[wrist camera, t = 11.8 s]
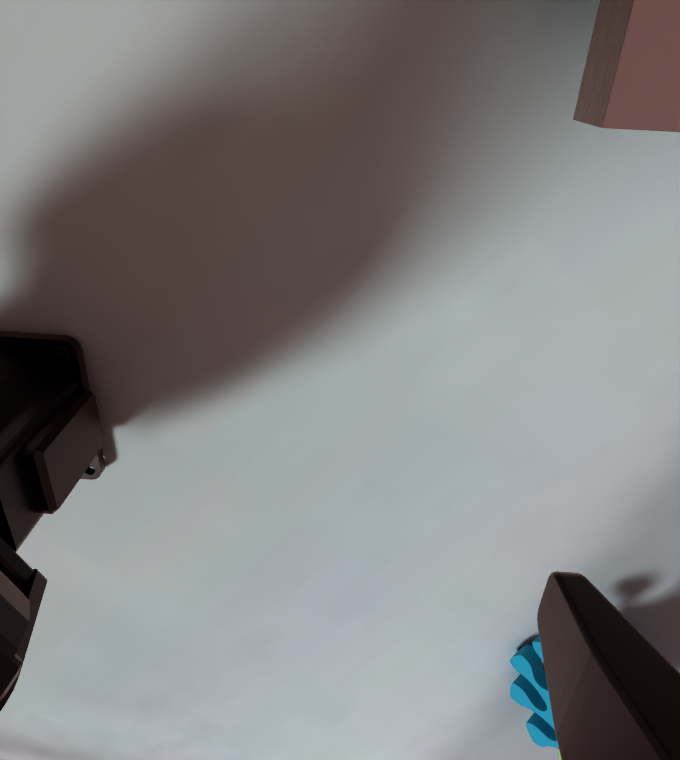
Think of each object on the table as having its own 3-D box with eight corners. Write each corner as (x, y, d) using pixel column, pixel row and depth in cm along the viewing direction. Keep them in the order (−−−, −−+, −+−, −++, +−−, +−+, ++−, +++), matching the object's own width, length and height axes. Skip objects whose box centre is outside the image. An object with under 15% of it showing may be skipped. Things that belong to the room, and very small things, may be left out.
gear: (536, 609, 25) (784, 822, 19) (600, 540, 28) (828, 705, 23) (475, 715, 32) (647, 897, 26) (533, 650, 35) (696, 798, 29)
